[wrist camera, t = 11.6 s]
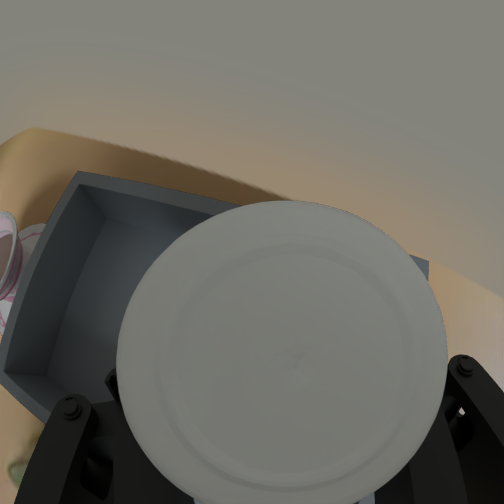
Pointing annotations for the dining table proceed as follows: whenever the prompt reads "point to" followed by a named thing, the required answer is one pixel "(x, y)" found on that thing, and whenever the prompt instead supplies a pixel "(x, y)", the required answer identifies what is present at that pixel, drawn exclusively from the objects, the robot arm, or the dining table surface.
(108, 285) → the walled box
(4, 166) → the dining table surface
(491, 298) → the dining table surface
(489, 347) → the dining table surface
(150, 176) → the dining table surface
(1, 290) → the teacup
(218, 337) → the sprinkles bottle
